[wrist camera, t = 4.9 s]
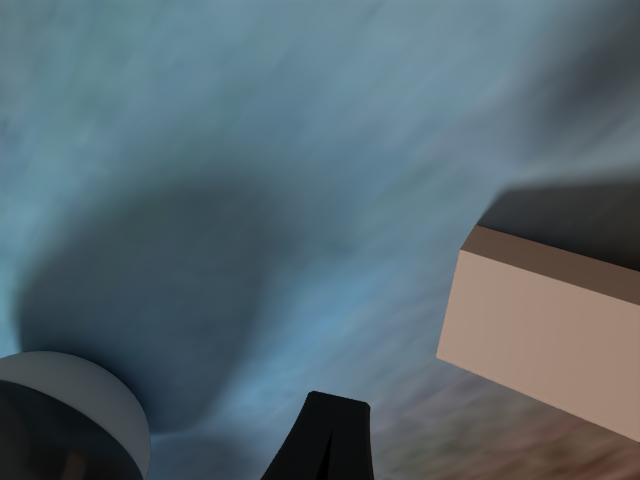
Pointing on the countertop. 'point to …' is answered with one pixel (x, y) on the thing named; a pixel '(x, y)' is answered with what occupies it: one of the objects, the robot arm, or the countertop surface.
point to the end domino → (548, 326)
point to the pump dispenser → (68, 421)
